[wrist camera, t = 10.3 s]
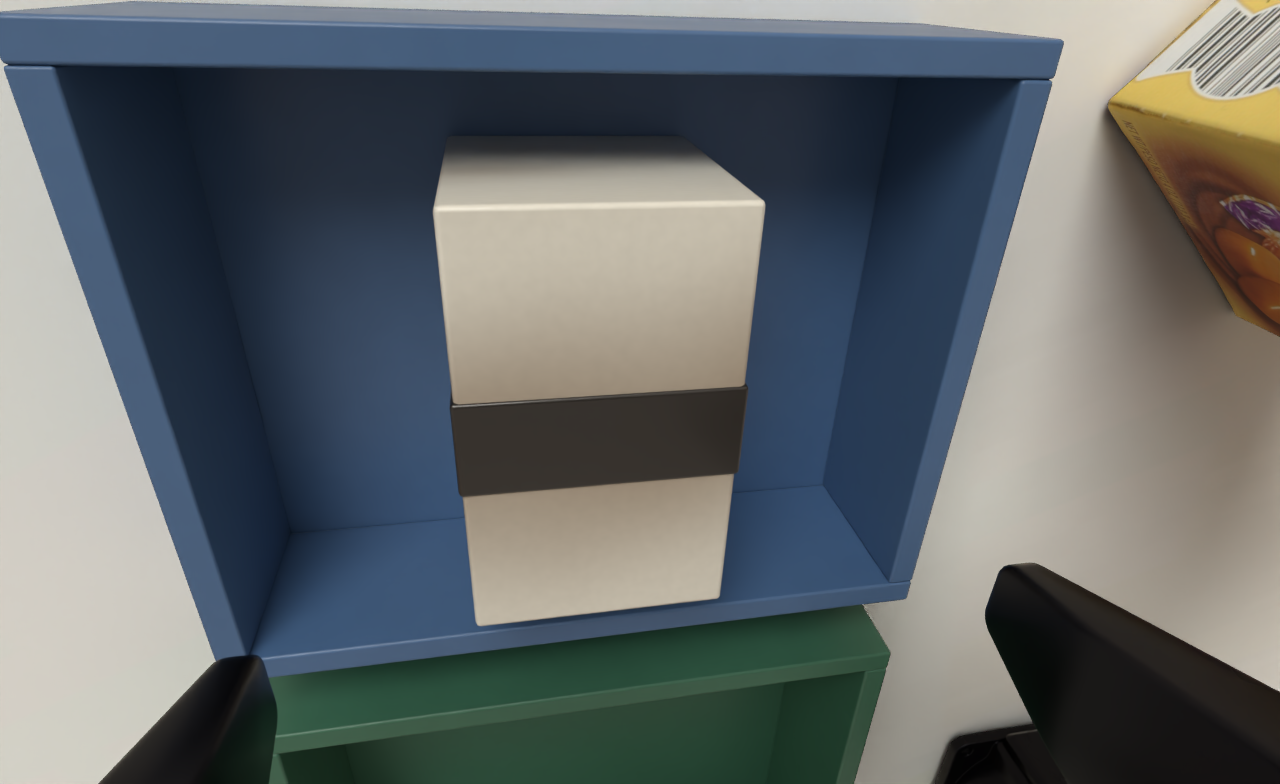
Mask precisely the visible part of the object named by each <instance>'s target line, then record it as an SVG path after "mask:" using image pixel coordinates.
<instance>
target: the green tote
mask: <svg viewBox="0 0 1280 784" xmlns="http://www.w3.org/2000/svg"><path fill="white" fill-rule="evenodd" d="M889 658H890V650H889V649H888V647H887V645H886V644H885V642H884V640H883V639H882V637H881V635H880V634H879V632H878V631H877V629H876V627H875V626H874V624H873V622H872V621H871V619H870V617H869V616H868V614H867V612H866V611H865V609H864V607H863V606H862V605H854V606H846V607H838V608H830V609H822V610H814V611H806V612H798V613H790V614H782V615H774V616H765V617H757V618H749V619H741V620H733V621H725V622H717V623H709V624H701V625H693V626H685V627H676V628H668V629H660V630H652V631H644V632H636V633H628V634H620V635H612V636H604V637H596V638H588V639H579V640H571V641H563V642H555V643H547V644H539V645H531V646H523V647H515V648H507V649H499V650H491V651H482V652H474V653H466V654H458V655H450V656H442V657H434V658H426V659H418V660H410V661H402V662H394V663H385V664H377V665H369V666H361V667H353V668H345V669H337V670H329V671H321V672H313V673H305V674H297V675H288V676H280V677H272V678H269V681H270V684H271V687H272V690H273V693H274V697H275V700H276V703H277V710H278V721H277V730H276V737H275V744H274V751H273V758H272V765H271V772H270V779H269V784H854V781H855V778H856V774H857V771H858V767H859V764H860V760H861V757H862V753H863V750H864V746H865V742H866V739H867V735H868V732H869V728H870V725H871V721H872V718H873V714H874V711H875V707H876V704H877V700H878V697H879V693H880V690H881V686H882V683H883V679H884V675H885V672H886V667H887V665H888V661H889Z"/></svg>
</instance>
